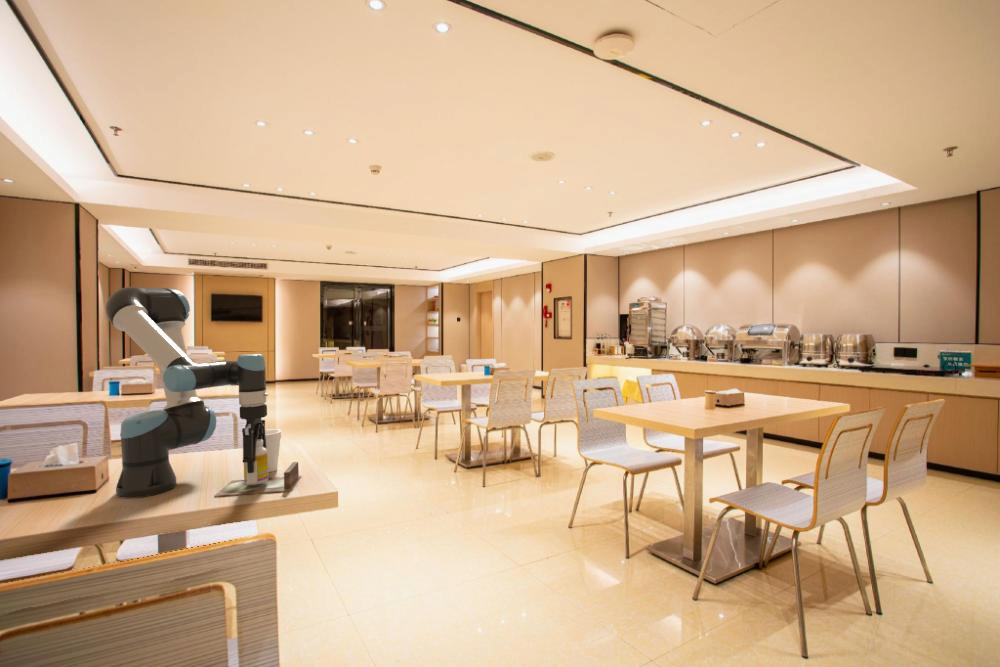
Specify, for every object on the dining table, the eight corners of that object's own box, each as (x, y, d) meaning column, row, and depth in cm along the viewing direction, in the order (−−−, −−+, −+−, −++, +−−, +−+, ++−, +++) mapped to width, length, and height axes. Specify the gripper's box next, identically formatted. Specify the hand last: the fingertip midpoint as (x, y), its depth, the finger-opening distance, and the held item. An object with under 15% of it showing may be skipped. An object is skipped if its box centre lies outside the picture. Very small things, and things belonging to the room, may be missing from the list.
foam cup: (273, 474, 165) (272, 435, 164) (246, 474, 165) (245, 435, 165) (286, 465, 174) (285, 429, 174) (260, 466, 174) (259, 429, 174)
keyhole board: (214, 497, 144) (213, 478, 144) (231, 481, 158) (231, 465, 157) (290, 491, 147) (289, 473, 147) (301, 476, 161) (300, 460, 161)
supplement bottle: (273, 479, 154) (271, 438, 154) (257, 486, 148) (255, 443, 148) (255, 478, 156) (254, 437, 156) (239, 485, 150) (237, 442, 149)
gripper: (255, 409, 142) (259, 488, 143) (275, 399, 162) (278, 468, 162) (227, 410, 141) (231, 490, 142) (251, 400, 160) (254, 470, 161)
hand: (256, 478), depth 152 cm, fingers closed on supplement bottle, 7 cm apart
